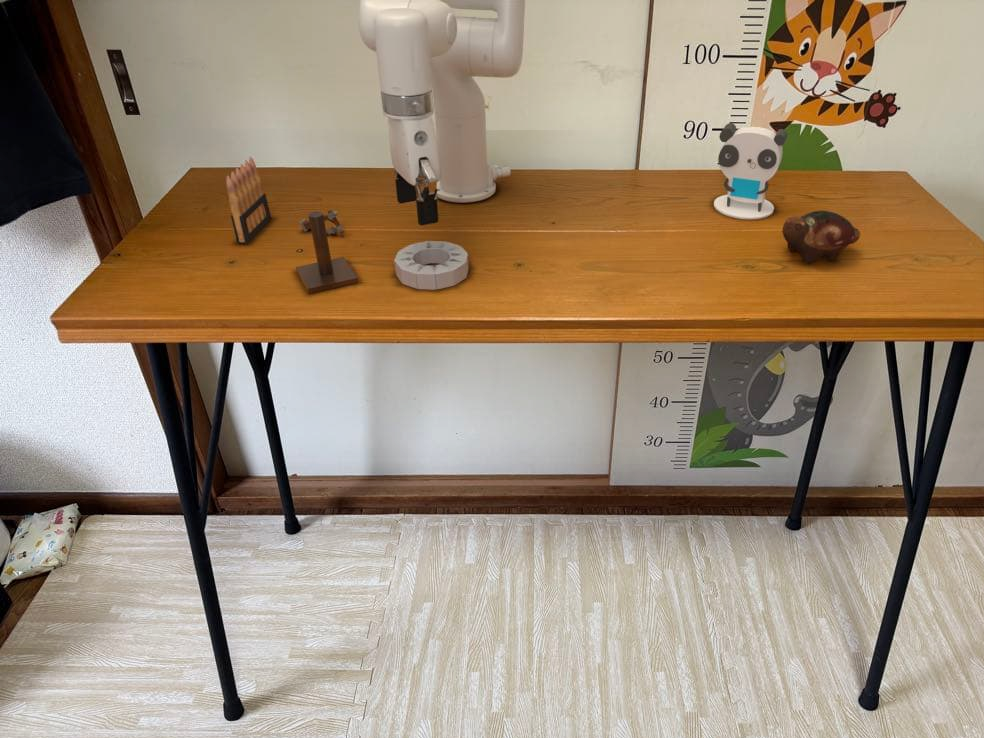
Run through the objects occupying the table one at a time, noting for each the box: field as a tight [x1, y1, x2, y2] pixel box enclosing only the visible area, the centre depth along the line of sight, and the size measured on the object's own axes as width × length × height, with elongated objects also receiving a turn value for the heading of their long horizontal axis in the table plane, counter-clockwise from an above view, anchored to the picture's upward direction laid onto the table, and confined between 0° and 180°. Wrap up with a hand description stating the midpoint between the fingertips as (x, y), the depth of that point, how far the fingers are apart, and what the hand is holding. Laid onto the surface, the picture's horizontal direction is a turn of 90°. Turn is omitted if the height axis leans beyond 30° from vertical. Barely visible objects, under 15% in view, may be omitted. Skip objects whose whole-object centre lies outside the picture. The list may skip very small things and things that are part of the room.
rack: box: [295, 210, 359, 295], centre depth 122 cm, size 8×8×11 cm
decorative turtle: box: [781, 210, 861, 265], centre depth 130 cm, size 10×15×8 cm, turn 113°
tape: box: [393, 240, 470, 291], centre depth 126 cm, size 12×12×3 cm
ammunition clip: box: [226, 156, 272, 245], centre depth 135 cm, size 11×2×12 cm, turn 172°
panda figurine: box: [713, 122, 788, 220], centre depth 144 cm, size 12×11×15 cm
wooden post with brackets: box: [299, 209, 345, 235], centre depth 137 cm, size 2×8×4 cm, turn 71°
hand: (417, 212), depth 124 cm, fingers open, 9 cm apart
